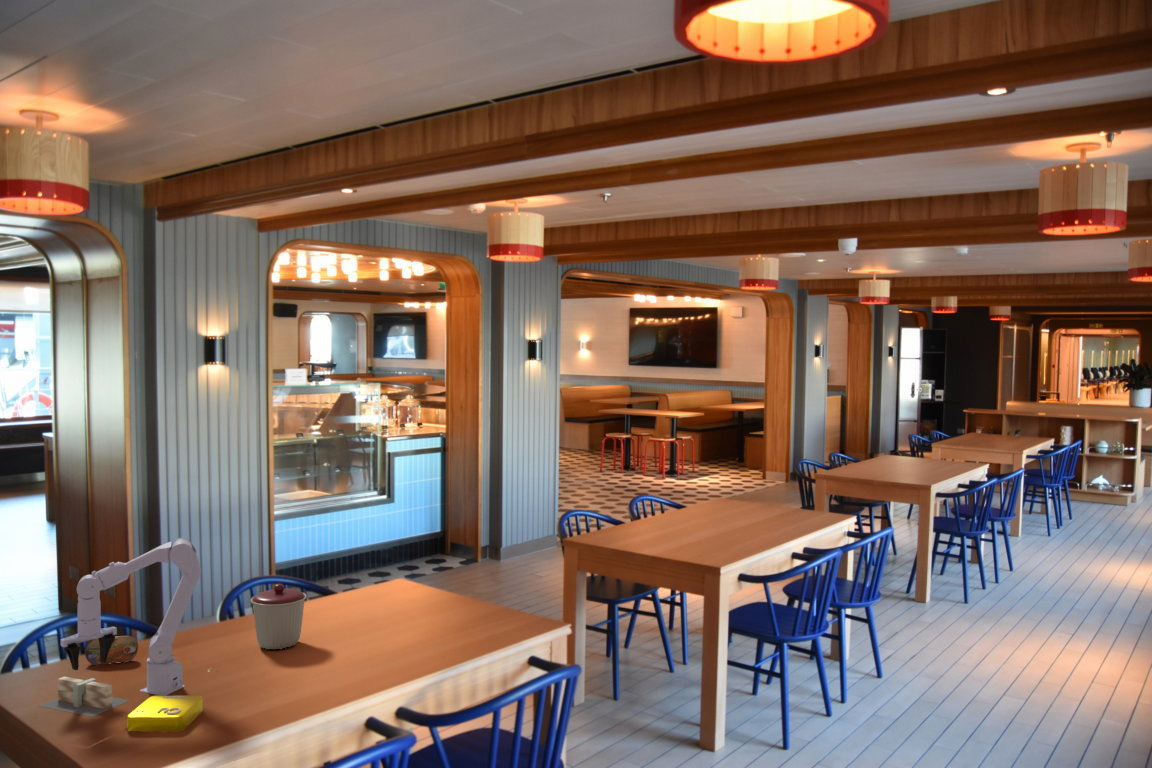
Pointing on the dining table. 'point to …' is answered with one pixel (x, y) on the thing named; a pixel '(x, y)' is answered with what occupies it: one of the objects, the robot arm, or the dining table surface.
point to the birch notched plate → (94, 695)
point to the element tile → (165, 713)
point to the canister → (278, 616)
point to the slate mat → (81, 707)
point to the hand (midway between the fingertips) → (89, 665)
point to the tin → (113, 650)
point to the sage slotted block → (80, 691)
